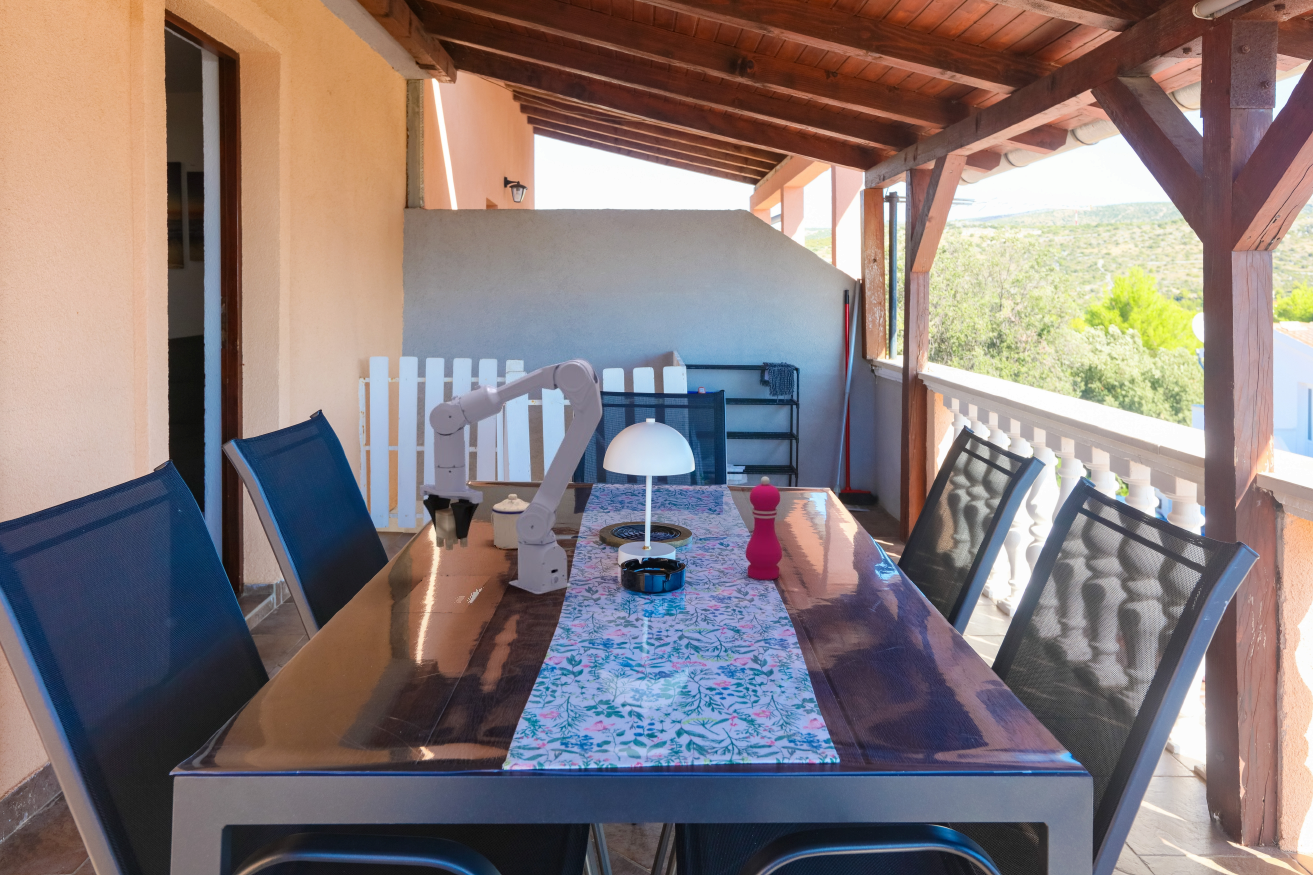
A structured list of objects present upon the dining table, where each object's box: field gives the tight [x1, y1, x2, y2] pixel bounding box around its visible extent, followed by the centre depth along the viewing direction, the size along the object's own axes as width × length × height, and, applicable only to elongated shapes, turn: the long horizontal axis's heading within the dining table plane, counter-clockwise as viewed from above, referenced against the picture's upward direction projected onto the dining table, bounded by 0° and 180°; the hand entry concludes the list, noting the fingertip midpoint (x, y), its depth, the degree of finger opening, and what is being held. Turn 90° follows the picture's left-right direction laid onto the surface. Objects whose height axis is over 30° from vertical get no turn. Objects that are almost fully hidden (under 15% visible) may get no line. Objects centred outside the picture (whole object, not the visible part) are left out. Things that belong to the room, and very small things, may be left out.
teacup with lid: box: [490, 493, 531, 548], centre depth 199 cm, size 12×9×12 cm
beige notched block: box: [435, 507, 469, 551], centre depth 168 cm, size 4×4×7 cm
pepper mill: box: [745, 476, 783, 581], centre depth 175 cm, size 7×7×20 cm
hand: (451, 536), depth 168 cm, fingers closed on beige notched block, 5 cm apart
